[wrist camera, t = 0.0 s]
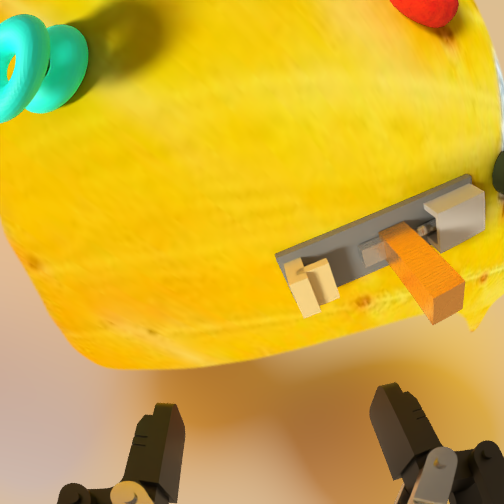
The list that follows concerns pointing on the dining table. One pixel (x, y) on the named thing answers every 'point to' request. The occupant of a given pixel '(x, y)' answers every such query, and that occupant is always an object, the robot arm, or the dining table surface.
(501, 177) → the mug on green stand
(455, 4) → the apple
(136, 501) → the robot arm
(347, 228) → the board
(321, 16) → the dining table surface
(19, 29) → the donuts
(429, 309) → the orange-brown upright block
